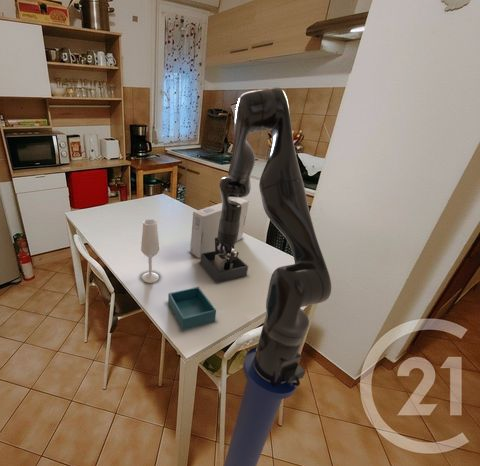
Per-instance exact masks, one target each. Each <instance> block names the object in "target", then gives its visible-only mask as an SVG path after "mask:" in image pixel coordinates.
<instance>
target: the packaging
mask: <svg viewBox="0 0 480 466" xmlns="http://www.w3.org/2000/svg"><path fill="white" fill-rule="evenodd" d="M230 200H231V201H234V202H237V203H239V204H241V206H242V210H241V216H240V226H239V232H238V238H237V241H239V240H242V239H243V235H244V230H245V225H246V219H247V213H248V208H249V202H250V201H249V200H246V199H244V198H240V197H234V198H232V199H230ZM221 211H222V202H220V203H217V204H216V203H215V204H214V205H211V206H207V207H204V208H201V209H198V210H195V211H193V212H192V223H191V235H190V236H191V237H190V249H189V253H190V254H191V255H193V256H195V257H197V258H198V259H201V254H202V253H207V252H213V251H215V238H217V237H218V229H219V222H220V218H221ZM218 247H219V246H218Z"/></svg>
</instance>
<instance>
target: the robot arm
mask: <svg viewBox="0 0 480 466" xmlns="http://www.w3.org/2000/svg"><path fill="white" fill-rule="evenodd" d="M235 109H236V110H235V116H234V128H233V129H234V130H233V145H232V155H231V156H232V157H231V160H230V164H229V168H228V172H227V173H228V176H224V177H222V178H221V180H220V182H219V192H220V197H221V198H220V199H221V203H222V211H221V218H220V222H219V229H218V237H217V238H215V251H216V252H217V255H218V254H223V253H224V257H225V264H224V270H229V269H230V264H232V263H235V261H236V259H237V257H238V258H239V255H240V254H239V251H236V250H235V244H236V243H237V241H238V240H237V238H238V232H239V226H240V216H241V210H242V206H241V204H239V203H237V202H234V201H231V200H232V199H230V198H241V199H244V198H245V197H248V196H249V194H250V193H251V188H252V187H251V185H252V184H251V175H252V172H253V170H254V167H255V164H256V154H255V151H254V149H253V147H252V146H251V143H250V142H249V140H248V137H249V134H250V133H255V132H256V133H257V132H263V131H268V130H269V131H270V135H271V149H270V154H269V155H268V159H267V161H266V163H265V166H264V168H263V170H262V173H261V175H260V180H259V184H258V185H259V187H258V188H259V193H260V198H261V202H262V207H263V210H264V212H265V214H266V216H267V218H268V219H269V220H270V221H271V223H272V224H273V225H274V226H275V227H276V229H277V230H279V232H280V233H281V234H282V235H283V237H284V238H285V240H286V241H287V243H288V245H289V247H290V250H291V252H292V256H293V261H294V264H288V265H287V264H286V265H282V266H279V267H276V268H275V270H274V271H273V272H272V274H271V276H270V280H269V283H268V289H267V294H266V300H265V309H266V314H265V317H264V322H263V323H262V328H261V332H260V334H259V335H260V336H259V339H258V342H257V345H256V347H257V350H256V354H255V357H254V360H253V367H254V369H255V371H256V373H257V374H258V375H259V376H260V377H261V378H262V379H263V380H265V381H266V382H268V383H270V384H271V385H272V386H273V387H276V386H278V385H281V384H284V383H286V382H287V383H290V382H293V381H295V380H296V382H297V383H296V382H293V383H292V384H293V385H294V386H297V387H299V386H300V385H301V382H300V379H303V378H304V375H305V373H306V370H304V368H303V367H302V366H301V365H299V363H300V361H301V359H302V355H301V354H300V353H299V352H300V350H301V347H302V344H303V342H304V339H305V337H306V335H307V332H308V329H309V326H310V318H309V316H308V314H307V313H306V311H304V310H303V309H302V308H304V307H308V306H312V305H317V304H321V303H324V302H326V301H327V300H328V299H329V298H330V296H331V294H332V280H331V276H330V272H329V270H328V267H327V263H326V261H325V258H324V255H323V252H322V249H321V247H320V244H319V241H318V238H317V235H316V231H315V228H314V224H313V220H312V216H311V212H310V209H309V204H308V197H307V193H306V189H305V184H304V180H303V176H302V173H301V170H300V169H301V168H300V165H299V162H298V156H297V153H296V148H295V142H294V135H293V127H292V119H291V113H290V112H291V111H290V106H289V101H288V97H287V94H286V92H285V90H284V89H283V88H281V87H268V88H263V89H262V88H261V89H256V90H251V91H247V92H243V93H242V94H241V95H240V96H239V98H238V101H237V104H236V108H235ZM218 246H219V247H218ZM229 253H230V254H229ZM226 254H228V255H226ZM228 257H229V259H228Z"/></svg>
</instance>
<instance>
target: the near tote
mask: <svg viewBox="0 0 480 466" xmlns="http://www.w3.org/2000/svg"><path fill="white" fill-rule="evenodd" d="M167 304H168V305H169V308H170V310H171V312H172V313H173V315H174V318H175V320H176V321H177V323H178V325H179V327H180V329H181V331H184V330H188V329H192V328H196V327H200V326H203V325H207V324H210V323H215V322H216V315H217V310H216V308H215V307H214V305H213V304H212V303H211V301H210V300H209V298H207V296H206V295H205V293H204V292H203V291H202V289H201V288H200V286H195V287H191V288H185V289H181V290H176V291H173V292H169V293H168V299H167Z"/></svg>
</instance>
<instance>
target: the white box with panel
mask: <svg viewBox="0 0 480 466" xmlns="http://www.w3.org/2000/svg"><path fill="white" fill-rule="evenodd" d="M226 255H228V254H226ZM228 259H229V257H228ZM224 264H225V257H224V253H223V254H218V255H215V260H214V266H215V268H216V269H217V270H218V271H219V272H220V271H225V270H224ZM232 267H233V263H232V264H230V269H232Z"/></svg>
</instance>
